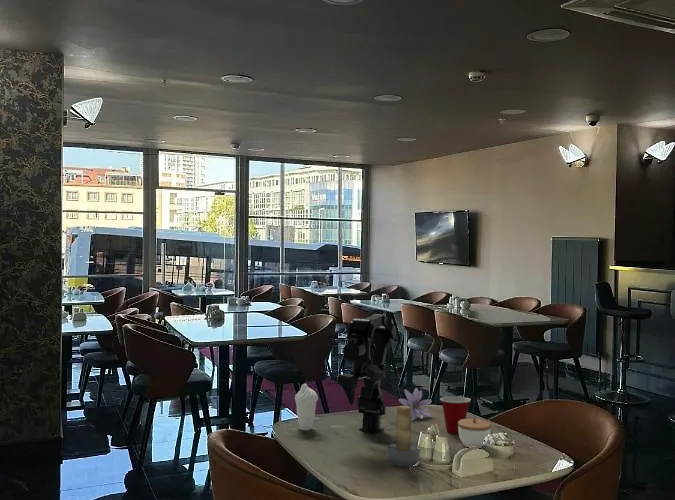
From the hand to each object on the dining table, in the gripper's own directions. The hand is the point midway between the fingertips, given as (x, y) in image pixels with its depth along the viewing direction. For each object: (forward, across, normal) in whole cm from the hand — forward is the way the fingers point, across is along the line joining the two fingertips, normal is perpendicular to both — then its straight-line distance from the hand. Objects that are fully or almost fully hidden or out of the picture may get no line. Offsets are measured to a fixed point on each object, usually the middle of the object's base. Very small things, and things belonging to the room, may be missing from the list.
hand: (360, 402), depth 216 cm
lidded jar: (+13, +22, -31) cm, 40 cm away
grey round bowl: (+13, -7, -22) cm, 27 cm away
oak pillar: (+9, -7, -22) cm, 25 cm away
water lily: (+13, +38, +2) cm, 40 cm away
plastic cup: (+13, +32, -18) cm, 39 cm away
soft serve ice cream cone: (+13, -3, +22) cm, 26 cm away
